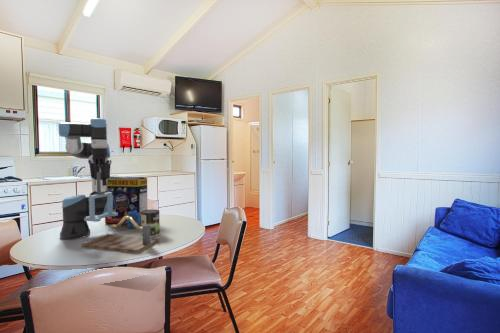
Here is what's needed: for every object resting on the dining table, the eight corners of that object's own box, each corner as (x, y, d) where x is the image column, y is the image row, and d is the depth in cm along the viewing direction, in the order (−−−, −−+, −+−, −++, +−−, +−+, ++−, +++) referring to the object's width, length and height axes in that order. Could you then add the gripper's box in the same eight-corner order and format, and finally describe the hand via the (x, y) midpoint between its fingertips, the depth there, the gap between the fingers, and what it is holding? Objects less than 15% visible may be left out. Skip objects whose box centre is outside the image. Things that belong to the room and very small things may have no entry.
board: (81, 247, 147) (81, 244, 147) (107, 236, 164) (107, 234, 164) (137, 253, 138) (137, 250, 137) (158, 241, 155) (158, 238, 155)
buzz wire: (108, 241, 151) (107, 215, 150) (112, 239, 154) (111, 214, 153) (147, 245, 145) (146, 218, 144) (150, 243, 148) (149, 217, 147)
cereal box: (148, 221, 199) (148, 176, 198) (139, 225, 187) (139, 177, 187) (114, 220, 203) (113, 176, 202) (103, 224, 192) (102, 177, 191)
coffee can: (163, 232, 172) (162, 209, 171) (154, 237, 162) (153, 213, 161) (147, 231, 174) (147, 209, 173) (137, 236, 164) (137, 212, 163)
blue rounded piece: (146, 227, 183) (145, 209, 182) (139, 230, 176) (138, 211, 176) (130, 226, 186) (130, 208, 185) (123, 229, 179) (123, 210, 179)
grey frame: (84, 220, 147) (82, 172, 146) (106, 214, 161) (104, 170, 160) (96, 221, 145) (95, 173, 143) (117, 215, 159) (116, 171, 158)
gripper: (81, 147, 149) (83, 192, 151) (106, 147, 145) (107, 193, 147) (93, 147, 157) (94, 190, 158) (116, 147, 152) (118, 191, 154)
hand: (100, 191), depth 152 cm, fingers closed on grey frame, 2 cm apart
